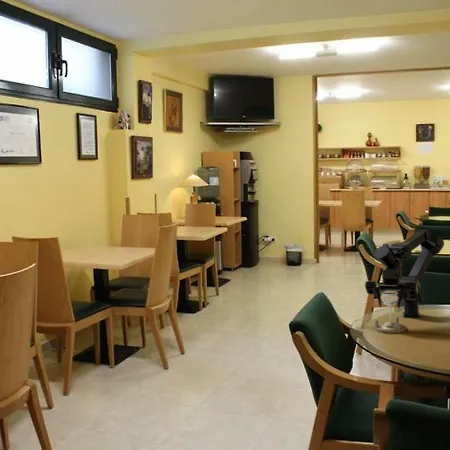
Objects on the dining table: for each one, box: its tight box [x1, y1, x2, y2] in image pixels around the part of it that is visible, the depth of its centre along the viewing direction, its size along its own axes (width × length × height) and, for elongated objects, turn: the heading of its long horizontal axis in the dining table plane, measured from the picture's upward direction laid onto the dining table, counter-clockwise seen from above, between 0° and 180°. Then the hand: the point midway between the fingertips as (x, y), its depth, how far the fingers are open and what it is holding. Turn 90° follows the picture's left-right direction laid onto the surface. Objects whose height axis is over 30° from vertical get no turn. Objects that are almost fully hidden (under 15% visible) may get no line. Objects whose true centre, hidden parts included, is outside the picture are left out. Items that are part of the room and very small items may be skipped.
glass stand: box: [374, 316, 407, 335], centre depth 211 cm, size 11×11×4 cm
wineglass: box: [380, 290, 399, 326], centre depth 211 cm, size 7×7×12 cm
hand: (389, 307), depth 210 cm, fingers closed on wineglass, 6 cm apart
